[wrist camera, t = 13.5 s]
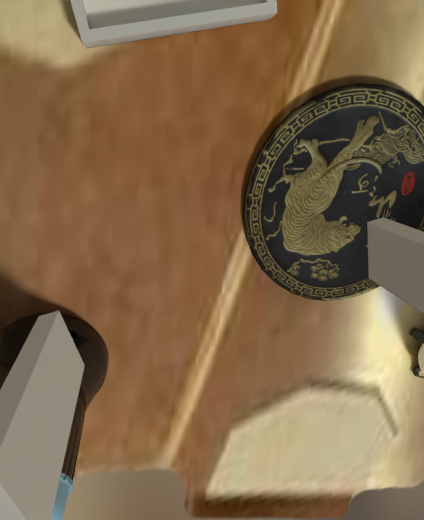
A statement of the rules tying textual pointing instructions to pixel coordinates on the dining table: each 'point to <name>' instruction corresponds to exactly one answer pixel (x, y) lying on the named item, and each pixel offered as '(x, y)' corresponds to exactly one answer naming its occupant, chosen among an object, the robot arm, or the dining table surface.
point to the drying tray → (161, 17)
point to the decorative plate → (335, 188)
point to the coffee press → (419, 335)
